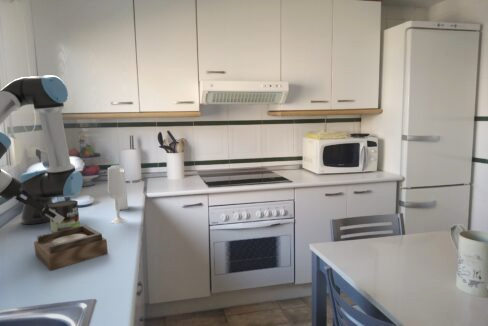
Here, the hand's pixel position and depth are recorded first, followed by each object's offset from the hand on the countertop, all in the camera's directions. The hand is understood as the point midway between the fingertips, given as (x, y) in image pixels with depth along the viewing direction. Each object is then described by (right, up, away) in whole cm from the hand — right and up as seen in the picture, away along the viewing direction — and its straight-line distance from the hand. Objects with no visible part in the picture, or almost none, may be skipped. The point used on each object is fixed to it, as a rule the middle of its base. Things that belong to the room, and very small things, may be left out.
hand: (56, 217), depth 140 cm
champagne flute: (+16, -5, +24) cm, 29 cm away
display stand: (+12, -11, -13) cm, 21 cm away
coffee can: (+2, -9, +4) cm, 10 cm away
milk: (+9, -2, +46) cm, 47 cm away
